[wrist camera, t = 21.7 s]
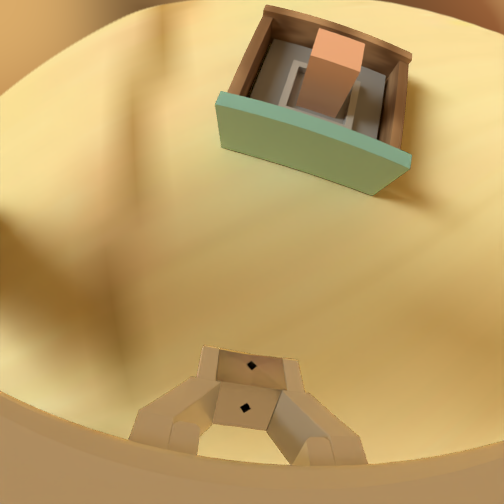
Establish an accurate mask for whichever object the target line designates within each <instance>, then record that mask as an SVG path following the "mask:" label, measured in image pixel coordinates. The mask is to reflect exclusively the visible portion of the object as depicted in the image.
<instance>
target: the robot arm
mask: <svg viewBox="0 0 504 504" xmlns="http://www.w3.org/2000/svg"><path fill="white" fill-rule="evenodd" d="M212 423H213V424H220V425H228V426H237V427H244V428H251V429H258V430H266V432H267V433H268V435H269V436H270V437H271V439H272V440H273V442H274V443H275V444H276V446H277V447H278V449H279V450H280V451H281V453H282V454H283V455H284V457H285V458H286V459H287V461H288V462H289V463H290V465H277V464H263V463H251V462H241V461H233V460H225V459H218V458H211V457H204V456H198V455H197V452H198V444H199V437H200V436H201V435H202V434H203V433H204V432H205V431H206V430H207V429H208V428H209V427H210V426H211V425H212ZM0 504H504V441H500V442H497V443H493V444H489V445H485V446H482V447H478V448H473V449H469V450H465V451H460V452H455V453H450V454H445V455H440V456H434V457H428V458H421V459H415V460H407V461H399V462H390V463H379V464H368V462H367V459H366V456H365V453H364V450H363V447H362V443H361V440H360V437H359V436H358V435H357V434H356V433H354V432H353V431H352V430H351V429H350V428H349V427H347V426H346V425H345V424H344V423H343V422H342V421H340V420H339V419H338V418H337V417H336V416H335V415H334V414H332V413H331V412H330V411H329V410H328V409H327V408H326V407H324V406H323V405H322V404H321V403H320V402H319V401H318V400H317V399H315V398H314V397H313V396H312V395H311V394H310V393H305V390H304V385H303V381H302V376H301V372H300V367H299V363H298V360H297V359H290V358H277V357H269V356H262V355H255V354H250V353H245V352H240V351H234V350H229V349H224V348H220V349H219V347H213V346H208V345H203V347H202V352H201V357H200V362H199V367H198V372H197V377H190V378H189V379H187V380H186V381H184V382H183V383H181V384H180V385H178V386H176V387H175V388H173V389H172V390H170V391H169V392H167V393H166V394H164V395H162V396H161V397H159V398H158V399H156V400H154V401H153V402H151V403H150V404H148V405H146V406H145V407H143V408H142V409H140V410H139V412H138V414H137V417H136V420H135V423H134V426H133V429H132V431H131V434H130V437H129V440H126V439H123V438H119V437H116V436H112V435H109V434H106V433H103V432H100V431H96V430H93V429H90V428H87V427H84V426H82V425H79V424H76V423H73V422H70V421H68V420H65V419H63V418H60V417H57V416H55V415H52V414H50V413H47V412H45V411H43V410H40V409H38V408H36V407H33V406H31V405H29V404H27V403H24V402H22V401H20V400H18V399H16V398H14V397H12V396H10V395H8V394H6V393H4V392H2V391H0Z"/></svg>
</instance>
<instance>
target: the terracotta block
mask: <svg viewBox="0 0 504 504" xmlns="http://www.w3.org/2000/svg"><path fill="white" fill-rule="evenodd" d="M364 47H365V44H364V43H362V42H359V41H356V40H353V39H351V38H348V37H345V36H342V35H339V34H336V33H333V32H330V31H327V30H324V29H321V28H319V30H318V33H317V36H316V39H315V42H314V46H313V49H312V52H311V55H310V58H309V62H308V65H307V69H306V72H305V76H304V79H303V82H302V86H301V89H300V93H299V96H298V99H297V103H296V106H299V107H302V108H305V109H308V110H312V111H315V112H318V113H321V114H324V115H327V116H329V117H332V118H335V117H336V116H337V114H338V112H339V110H340V108H341V106H342V105H343V103H344V101H345V99H346V97H347V95H348V94H349V92H350V90H351V88H352V86H353V84H354V82H355V81H356V79H357V77H358V75H359V73H360V70H361V64H362V59H363V53H364Z"/></svg>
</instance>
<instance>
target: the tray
mask: <svg viewBox="0 0 504 504" xmlns="http://www.w3.org/2000/svg"><path fill="white" fill-rule="evenodd" d="M311 52H312V49H310V48H307V47H304V46H300V45H297V44H293V43H289V42H286V41H282V40H278V39H274V40H273V42H272V44H271V47H270V49H269V52H268V54H267V56H266V59H265V61H264V64H263V66H262V69H261V71H260V73H259V76H258V78H257V81H256V83H255V86H254V88H253V91H252V93H251V96H250V98H248V97H244V96H240V95H235V94H231V93H227V92H223V91H221V92H220V94H219V96H218V98H217V101H216V103H215V107H216V114H217V121H218V128H219V134H220V141H221V147H222V148H225V149H229V150H233V151H236V152H240V153H244V154H247V155H251V156H254V157H257V158H261V159H264V160H268V161H271V162H274V163H277V164H281V165H284V166H287V167H290V168H293V169H297V170H300V171H303V172H306V173H309V174H312V175H315V176H318V177H321V178H324V179H327V180H330V181H333V182H335V183H338V184H341V185H344V186H347V187H350V188H352V189H355V190H358V191H360V192H363V193H366V194H369V195H371V196H373V195H374V194H376V193H377V192H378V191H380V190H381V189H383V188H384V187H385V186H387V185H388V184H390V183H391V182H393V181H394V180H395V179H397V178H398V177H400V176H401V175H402V174H404V173H405V172H406V171H408V170H409V169H410V166H411V159H412V155H411V154H409V153H407V152H404V151H402V150H400V149H398V148H395V147H393V146H391V145H388V144H386V143H383V142H381V141H379V140H376V139H377V133H378V127H379V120H380V114H381V107H382V100H383V93H384V86H385V78H386V76H385V75H383V74H380V73H378V72H376V71H373V70H371V69H368V68H366V67H363V66H361V70H360V73H359V75H358V77H357V79H356V81H355V82H354V84H353V86H352V88H351V90H350V92H349V94H348V95H347V97H346V99H345V101H344V103H343V105H342V106H341V108H340V110H339V112H338V114H337V116H336V117H335V118H332V117H329V116H327V115H324V114H321V113H318V112H315V111H312V110H308V109H305V108H302V107H299V106H296V103H297V99H298V96H299V93H300V89H301V86H302V82H303V79H304V76H305V72H306V69H307V65H308V62H309V58H310V55H311Z"/></svg>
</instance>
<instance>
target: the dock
mask: <svg viewBox="0 0 504 504" xmlns="http://www.w3.org/2000/svg"><path fill="white" fill-rule="evenodd" d="M319 28H321V29H324V30H327V31H330V32H333V33H336V34H339V35H342V36H345V37H348V38H351V39H353V40H356V41H359V42H362V43H364V44H365V47H364V53H363V59H362V64H361V66H363V67H366V68H368V69H371V70H373V71H376V72H378V73H380V74H383V75H385V76H386V78H385V87H384V94H383V101H382V108H381V115H380V121H379V127H378V133H377V139H376V140H379V141H381V142H383V143H386V144H388V145H391V146H393V147H395V148H398V149H400V148H401V140H402V133H403V124H404V115H405V105H406V94H407V81H408V64H409V63H410V62H411V60H412V53H410V52H408V51H405V50H403V49H401V48H399V47H397V46H394V45H392V44H390V43H387V42H385V41H383V40H380V39H378V38H375V37H373V36H370V35H368V34H365V33H362V32H360V31H357V30H354V29H352V28H349V27H346V26H343V25H340V24H337V23H334V22H331V21H328V20H324V19H321V18H318V17H314V16H311V15H307V14H304V13H300V12H296V11H292V10H288V9H284V8H280V7H275V6H271V5H266V6H265V8H264V11H263V17H262V19H261V21H260V23H259V25H258V27H257V29H256V31H255V33H254V35H253V37H252V39H251V41H250V43H249V46H248V48H247V50H246V52H245V54H244V56H243V58H242V61H241V63H240V65H239V67H238V69H237V72H236V74H235V76H234V78H233V81H232V83H231V85H230V87H229V90H228V92H227V93H231V94H235V95H240V96H244V97H248V96H249V93H250V91H251V88H252V86H253V83H254V81H255V78H256V76H257V73H258V71H259V69H260V66H261V64H262V61H263V59H264V57H265V54H266V52H267V49H268V47H269V45H270V44H272V42H273V40H274V39H278V40H282V41H286V42H289V43H293V44H297V45H300V46H304V47H307V48H310V49H313V46H314V42H315V39H316V36H317V33H318V30H319Z"/></svg>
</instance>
